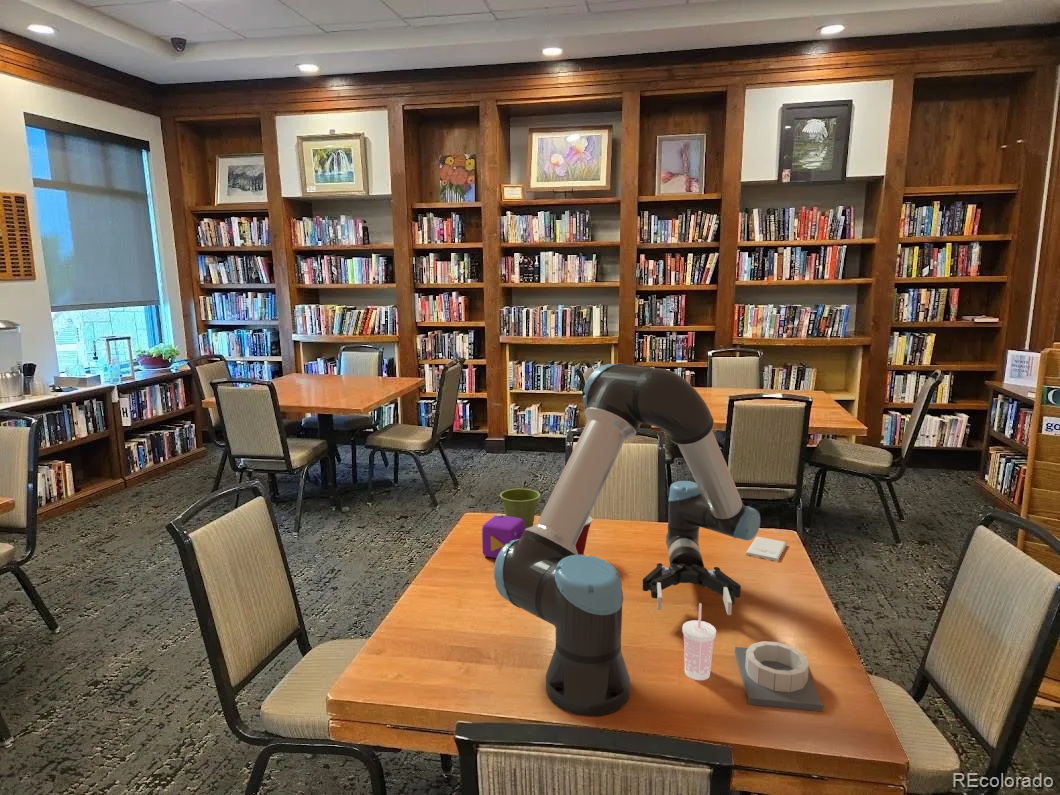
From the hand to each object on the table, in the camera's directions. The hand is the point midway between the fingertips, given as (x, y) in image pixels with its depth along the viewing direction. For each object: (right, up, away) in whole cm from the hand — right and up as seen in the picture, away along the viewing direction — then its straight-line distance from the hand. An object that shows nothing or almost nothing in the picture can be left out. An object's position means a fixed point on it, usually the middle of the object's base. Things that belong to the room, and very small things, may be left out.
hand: (694, 606), depth 127 cm
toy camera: (-38, -1, +45) cm, 59 cm away
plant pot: (-36, +2, +62) cm, 71 cm away
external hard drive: (+32, -1, +47) cm, 57 cm away
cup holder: (+12, -10, -10) cm, 19 cm away
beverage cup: (-1, -10, -8) cm, 13 cm away
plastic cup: (-22, -2, +41) cm, 47 cm away
